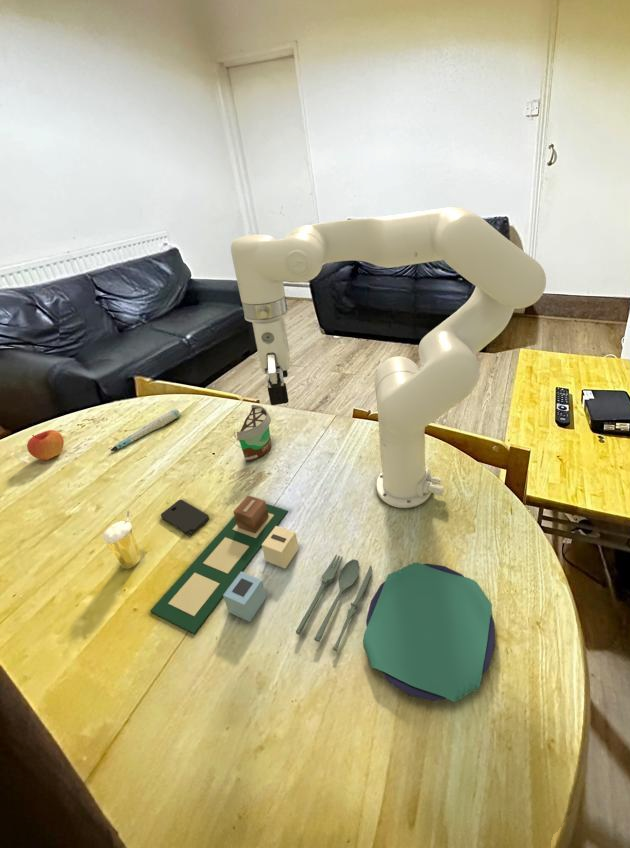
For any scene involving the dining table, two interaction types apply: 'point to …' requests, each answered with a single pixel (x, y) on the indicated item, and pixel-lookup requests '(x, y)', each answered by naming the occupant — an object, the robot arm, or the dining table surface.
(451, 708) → the dining table surface
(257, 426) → the food container
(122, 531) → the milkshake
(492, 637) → the cutlery set
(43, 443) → the apple
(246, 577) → the light blue block
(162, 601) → the word mat
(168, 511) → the black smartphone
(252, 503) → the letter block
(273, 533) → the letter block
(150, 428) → the pen
